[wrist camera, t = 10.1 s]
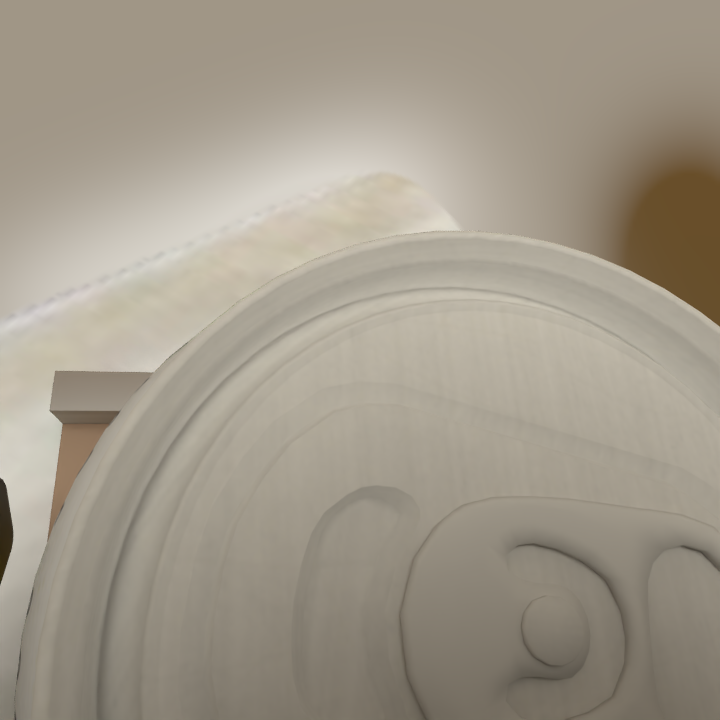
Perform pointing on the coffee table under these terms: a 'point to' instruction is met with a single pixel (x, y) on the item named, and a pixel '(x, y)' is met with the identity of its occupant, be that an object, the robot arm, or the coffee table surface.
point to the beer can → (401, 504)
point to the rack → (85, 419)
